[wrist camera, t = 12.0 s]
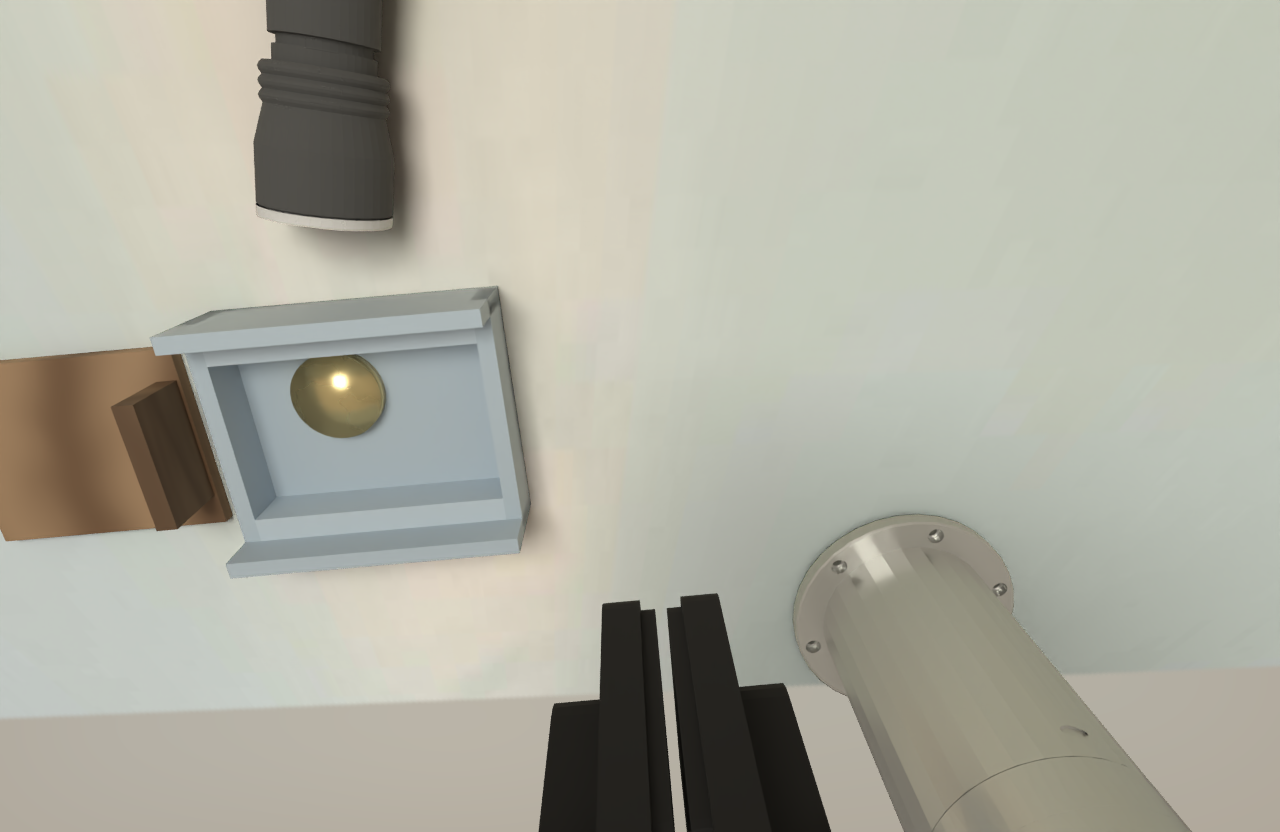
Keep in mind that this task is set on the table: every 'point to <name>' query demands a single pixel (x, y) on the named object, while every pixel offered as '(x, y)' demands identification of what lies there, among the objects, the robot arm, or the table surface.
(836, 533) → the table surface
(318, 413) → the brass disc
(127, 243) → the table surface
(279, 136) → the flashlight
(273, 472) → the light grey open box
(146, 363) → the cover plate
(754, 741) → the robot arm
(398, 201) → the table surface
